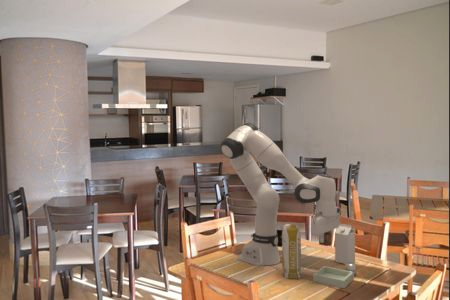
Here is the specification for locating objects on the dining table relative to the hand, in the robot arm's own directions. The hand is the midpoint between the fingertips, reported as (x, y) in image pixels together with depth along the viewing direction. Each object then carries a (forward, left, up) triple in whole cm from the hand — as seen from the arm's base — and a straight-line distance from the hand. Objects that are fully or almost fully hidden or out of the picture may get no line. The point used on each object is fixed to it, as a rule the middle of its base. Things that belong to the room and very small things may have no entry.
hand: (325, 240), depth 179 cm
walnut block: (0, 0, -2) cm, 2 cm away
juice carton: (-14, -6, -17) cm, 23 cm away
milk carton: (0, +25, -17) cm, 31 cm away
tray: (+4, -1, -17) cm, 17 cm away
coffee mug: (-39, +33, -17) cm, 54 cm away
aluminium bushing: (+8, +10, -17) cm, 21 cm away
